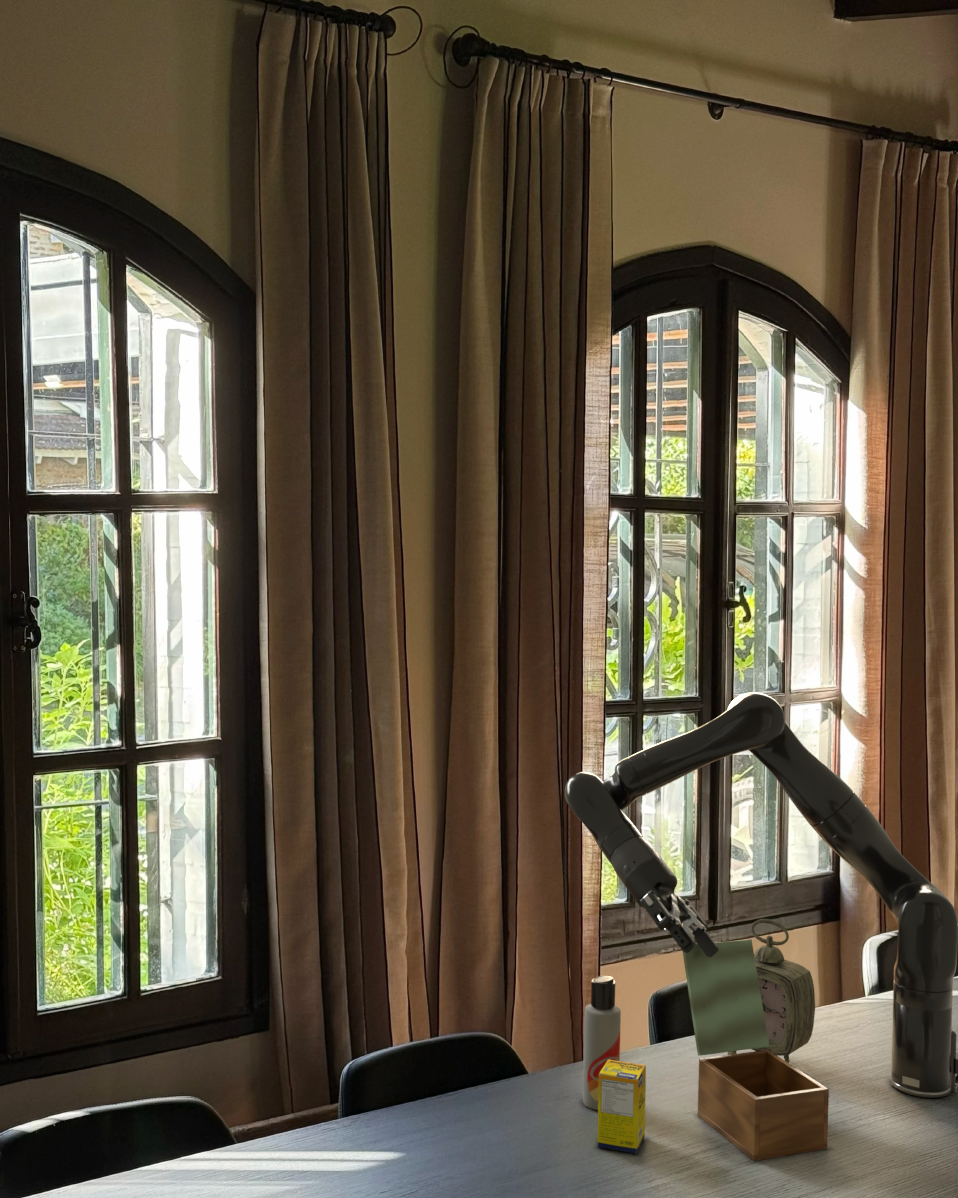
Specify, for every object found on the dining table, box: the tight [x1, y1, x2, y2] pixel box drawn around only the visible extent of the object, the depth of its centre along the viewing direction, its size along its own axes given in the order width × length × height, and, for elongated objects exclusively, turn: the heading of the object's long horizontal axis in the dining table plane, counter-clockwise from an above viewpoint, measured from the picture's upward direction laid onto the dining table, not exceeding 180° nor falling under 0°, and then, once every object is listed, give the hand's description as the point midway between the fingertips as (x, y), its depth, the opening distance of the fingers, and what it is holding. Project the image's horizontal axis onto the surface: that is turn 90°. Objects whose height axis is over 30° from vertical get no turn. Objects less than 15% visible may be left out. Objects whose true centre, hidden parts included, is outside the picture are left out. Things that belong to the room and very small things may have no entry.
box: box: [697, 1050, 830, 1161], centre depth 179 cm, size 16×13×9 cm
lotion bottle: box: [582, 975, 622, 1111], centre depth 187 cm, size 6×6×20 cm
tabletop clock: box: [726, 918, 816, 1064], centre depth 205 cm, size 14×9×25 cm, turn 49°
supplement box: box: [597, 1059, 647, 1154], centre depth 174 cm, size 6×6×11 cm
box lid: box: [682, 938, 769, 1056], centre depth 189 cm, size 16×13×1 cm
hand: (702, 951), depth 183 cm, fingers open, 8 cm apart
